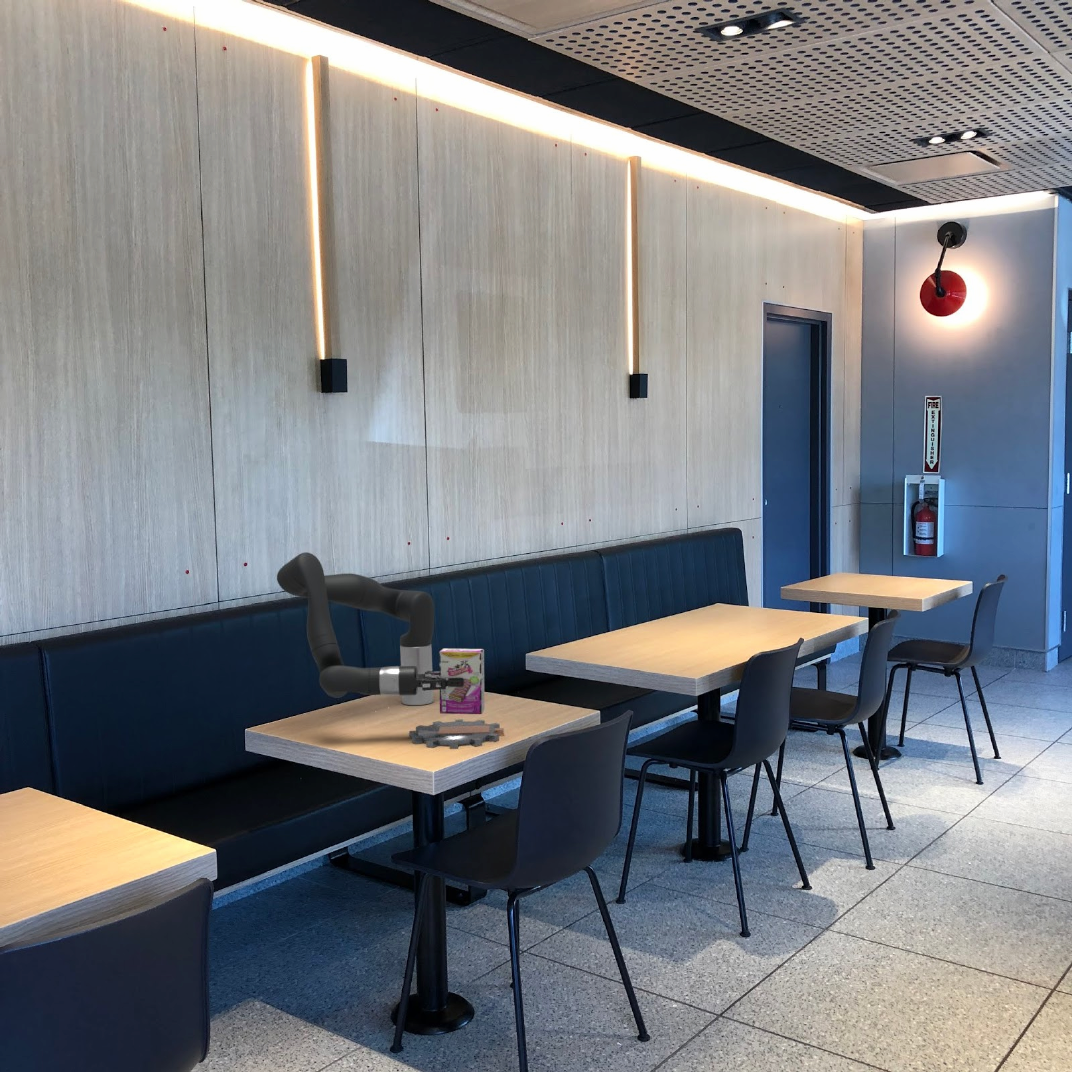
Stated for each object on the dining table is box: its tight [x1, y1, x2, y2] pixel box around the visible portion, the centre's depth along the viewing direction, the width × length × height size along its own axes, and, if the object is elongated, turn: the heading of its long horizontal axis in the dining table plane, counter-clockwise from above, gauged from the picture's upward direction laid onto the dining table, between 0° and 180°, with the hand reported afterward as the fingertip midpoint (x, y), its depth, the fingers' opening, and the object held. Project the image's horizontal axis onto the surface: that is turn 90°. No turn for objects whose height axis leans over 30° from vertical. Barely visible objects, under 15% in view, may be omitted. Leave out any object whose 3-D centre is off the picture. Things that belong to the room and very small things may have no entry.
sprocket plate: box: [408, 718, 505, 749], centre depth 289 cm, size 24×24×2 cm
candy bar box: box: [438, 648, 485, 715], centre depth 288 cm, size 11×5×16 cm, turn 84°
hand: (464, 679), depth 288 cm, fingers closed on candy bar box, 5 cm apart
